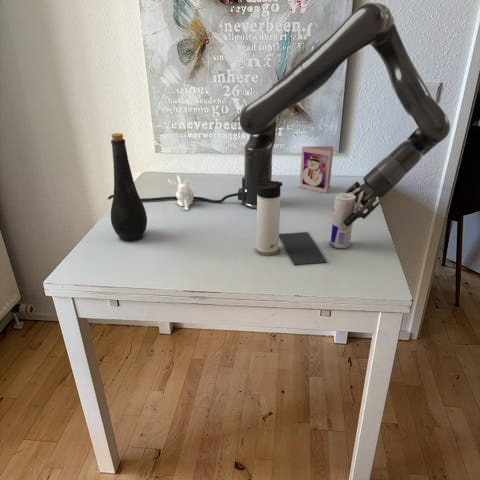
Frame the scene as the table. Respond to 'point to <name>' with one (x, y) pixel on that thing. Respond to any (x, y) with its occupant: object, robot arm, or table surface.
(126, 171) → the bottle
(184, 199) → the rabbit figurine
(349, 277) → the table surface
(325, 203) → the table surface
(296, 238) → the mat
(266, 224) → the travel mug
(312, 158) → the greeting card
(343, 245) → the beverage can
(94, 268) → the table surface
